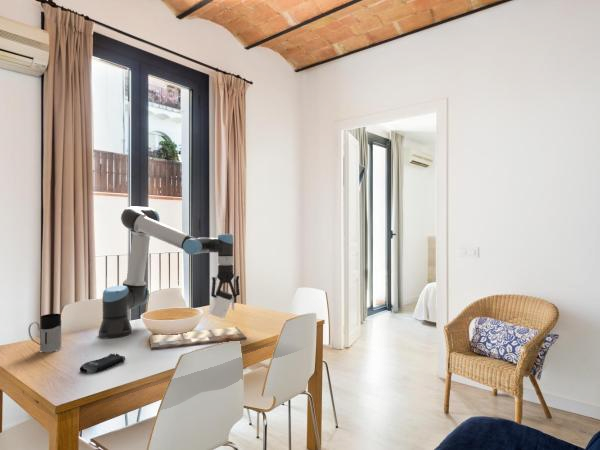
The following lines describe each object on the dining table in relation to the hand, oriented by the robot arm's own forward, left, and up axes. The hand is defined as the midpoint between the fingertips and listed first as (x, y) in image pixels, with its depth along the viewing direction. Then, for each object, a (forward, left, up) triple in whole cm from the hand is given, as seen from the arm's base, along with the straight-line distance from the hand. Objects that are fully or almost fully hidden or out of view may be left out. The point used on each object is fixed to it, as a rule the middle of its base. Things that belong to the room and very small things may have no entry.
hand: (225, 309), depth 199 cm
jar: (-5, 0, -2) cm, 5 cm away
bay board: (-14, -3, -12) cm, 19 cm away
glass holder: (-78, +2, -12) cm, 79 cm away
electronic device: (-54, -28, -13) cm, 62 cm away
